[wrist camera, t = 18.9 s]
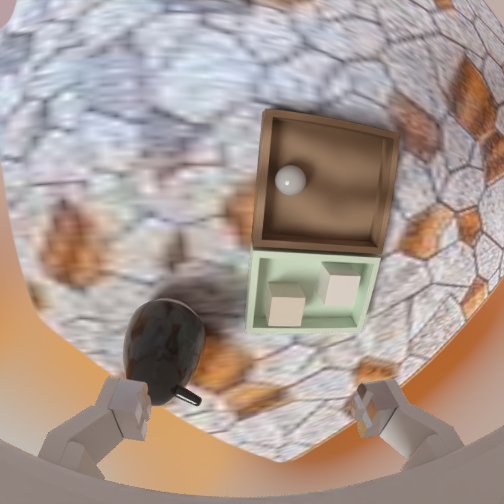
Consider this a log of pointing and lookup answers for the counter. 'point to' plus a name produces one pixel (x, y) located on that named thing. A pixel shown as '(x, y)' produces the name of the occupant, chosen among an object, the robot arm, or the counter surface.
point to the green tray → (307, 288)
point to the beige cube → (284, 304)
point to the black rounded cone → (164, 349)
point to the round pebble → (290, 180)
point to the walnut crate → (324, 184)
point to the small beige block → (337, 284)
